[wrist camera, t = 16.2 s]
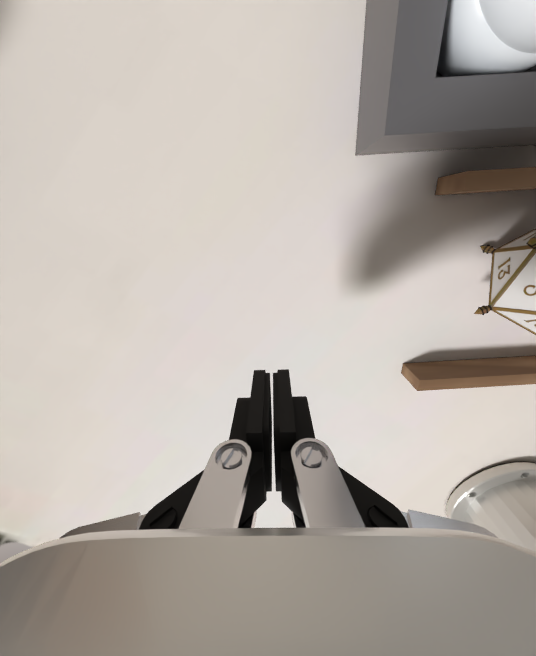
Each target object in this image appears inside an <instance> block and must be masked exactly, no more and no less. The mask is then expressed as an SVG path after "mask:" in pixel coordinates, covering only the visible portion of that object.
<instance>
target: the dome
mask: <svg viewBox="0 0 536 656" xmlns="http://www.w3.org/2000/svg"><path fill="white" fill-rule="evenodd" d="M535 65H536V0H448V4H447V10H446V16H445V22H444V28H443V34H442V40H441V47H440V53H439V59H438V65H437V70H438V72H439V73H440V74H441V75H442V76H443V77H456V76H472V75H489V74H506V73H522V72H524V71H526V70H528V69H530V68H531V67H533V66H535Z"/></svg>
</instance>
